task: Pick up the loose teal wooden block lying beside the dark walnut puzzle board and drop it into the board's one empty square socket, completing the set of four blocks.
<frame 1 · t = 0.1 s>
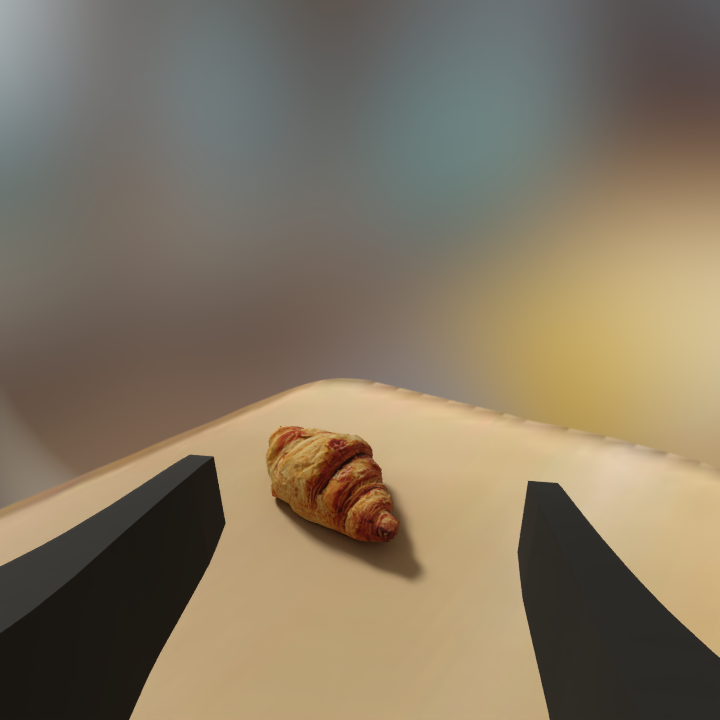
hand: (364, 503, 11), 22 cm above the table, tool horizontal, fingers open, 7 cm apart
croissant: (327, 494, 48), on the table
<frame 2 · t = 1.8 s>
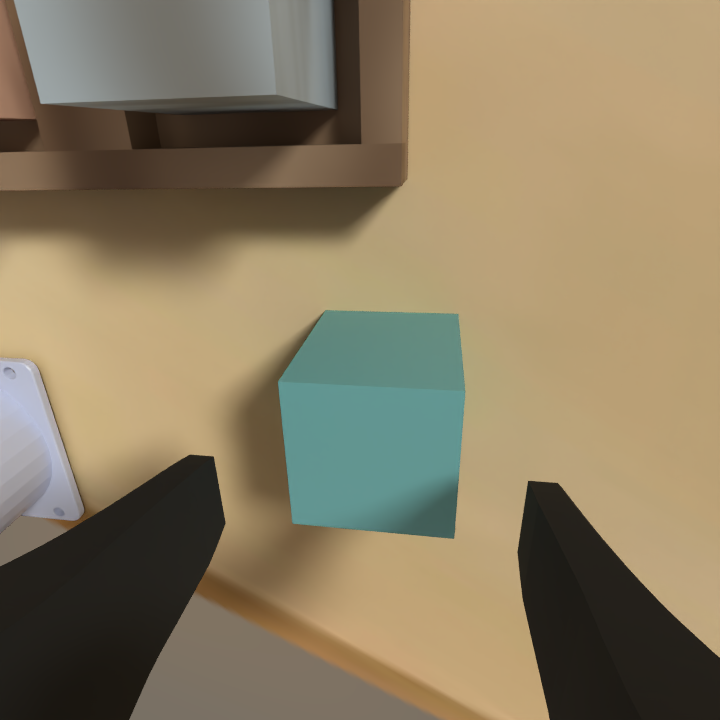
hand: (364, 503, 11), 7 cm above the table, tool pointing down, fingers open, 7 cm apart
teal block: (390, 371, 18), on the table
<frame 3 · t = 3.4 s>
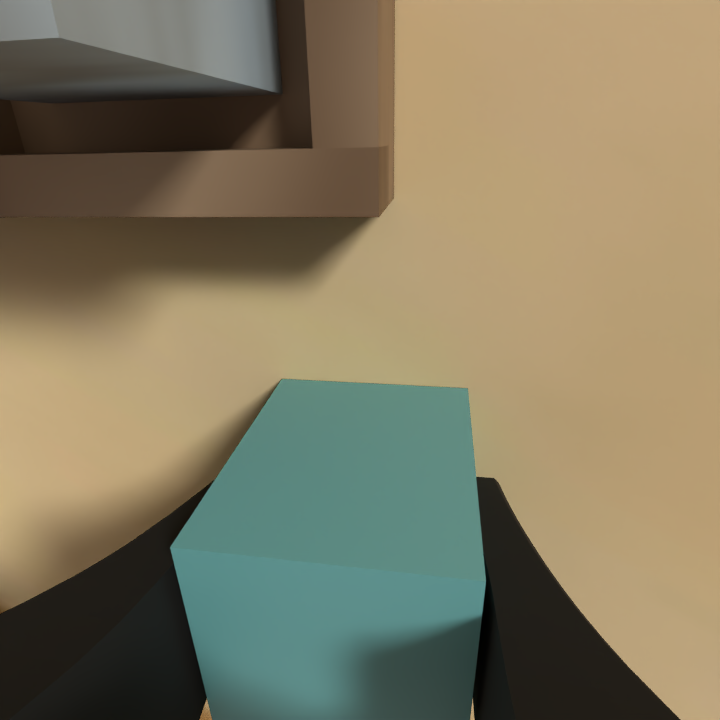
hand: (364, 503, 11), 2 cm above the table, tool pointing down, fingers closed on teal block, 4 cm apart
teal block: (373, 460, 13), on the table, touching gripper
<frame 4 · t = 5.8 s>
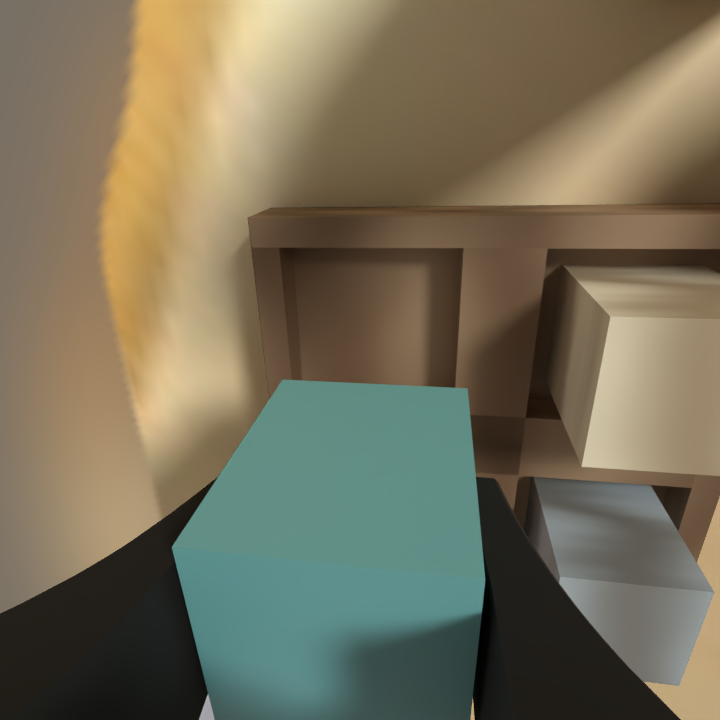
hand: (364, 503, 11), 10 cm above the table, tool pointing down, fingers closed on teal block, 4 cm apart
puzzle board: (482, 412, 21), on the table
teal block: (373, 460, 13), point 8 cm above the table, touching gripper
when the fingers open (5 cm above the table, at t = 7.7 s): teal block drops 3 cm, resting on puzzle board.
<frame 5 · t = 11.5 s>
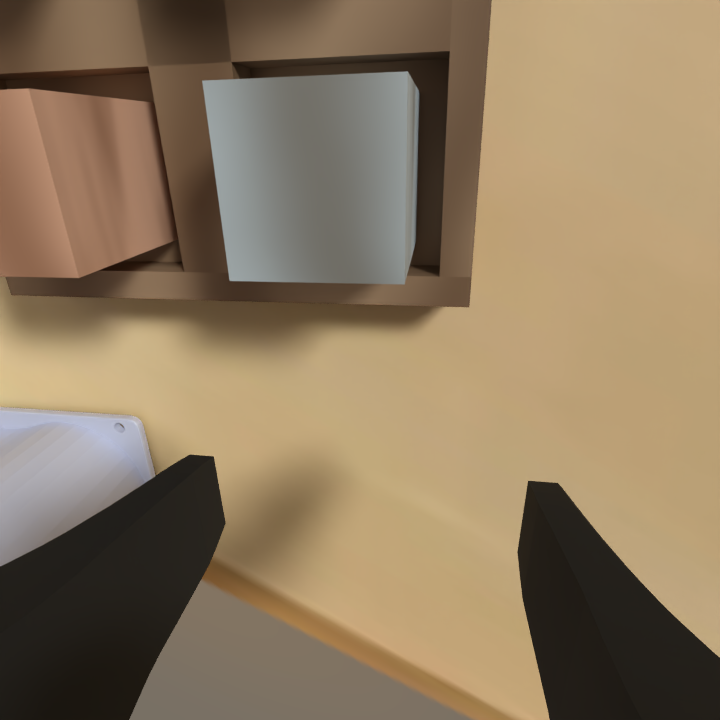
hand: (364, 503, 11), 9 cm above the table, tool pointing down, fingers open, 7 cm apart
puzzle board: (218, 27, 16), on the table
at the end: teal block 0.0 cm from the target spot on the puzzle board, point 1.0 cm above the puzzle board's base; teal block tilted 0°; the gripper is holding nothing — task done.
